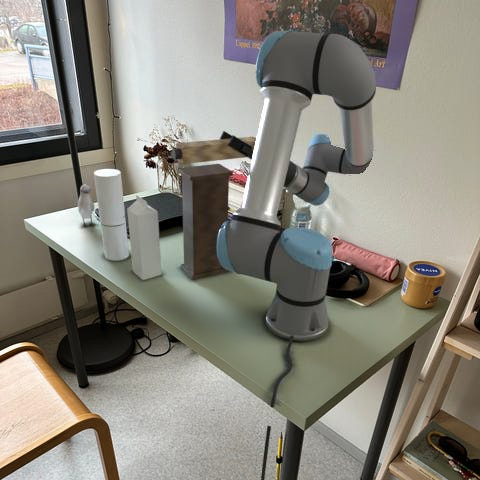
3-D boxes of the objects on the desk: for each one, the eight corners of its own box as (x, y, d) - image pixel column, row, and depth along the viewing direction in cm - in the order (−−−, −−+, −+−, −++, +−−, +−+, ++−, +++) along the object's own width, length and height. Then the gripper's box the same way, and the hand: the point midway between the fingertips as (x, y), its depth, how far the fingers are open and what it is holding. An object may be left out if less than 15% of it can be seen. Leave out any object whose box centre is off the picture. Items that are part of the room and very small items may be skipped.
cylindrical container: (131, 251, 145) (124, 169, 131) (124, 261, 139) (115, 177, 125) (109, 249, 146) (99, 168, 132) (101, 259, 140) (89, 175, 126)
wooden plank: (252, 152, 127) (252, 136, 125) (260, 155, 124) (261, 140, 122) (170, 160, 117) (170, 143, 115) (177, 164, 114) (176, 147, 112)
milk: (142, 280, 131) (135, 204, 118) (132, 271, 135) (125, 197, 122) (162, 274, 134) (157, 199, 121) (151, 266, 138) (146, 192, 125)
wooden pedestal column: (217, 260, 143) (219, 163, 126) (229, 271, 137) (233, 171, 121) (180, 268, 138) (177, 168, 121) (192, 280, 132) (190, 177, 116)
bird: (86, 234, 154) (79, 189, 146) (76, 219, 164) (69, 176, 155) (101, 231, 156) (95, 187, 148) (90, 217, 166) (84, 175, 158)
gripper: (298, 197, 129) (235, 160, 114) (265, 178, 142) (204, 144, 127) (312, 171, 127) (250, 131, 112) (277, 155, 140) (217, 117, 125)
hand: (226, 138), depth 119 cm, fingers closed on wooden plank, 4 cm apart
